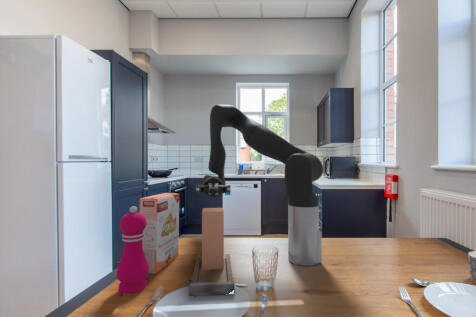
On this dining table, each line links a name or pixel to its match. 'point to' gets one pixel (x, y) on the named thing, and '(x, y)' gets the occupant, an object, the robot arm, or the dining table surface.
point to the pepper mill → (132, 254)
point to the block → (212, 238)
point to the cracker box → (160, 229)
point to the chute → (211, 279)
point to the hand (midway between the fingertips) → (213, 191)
